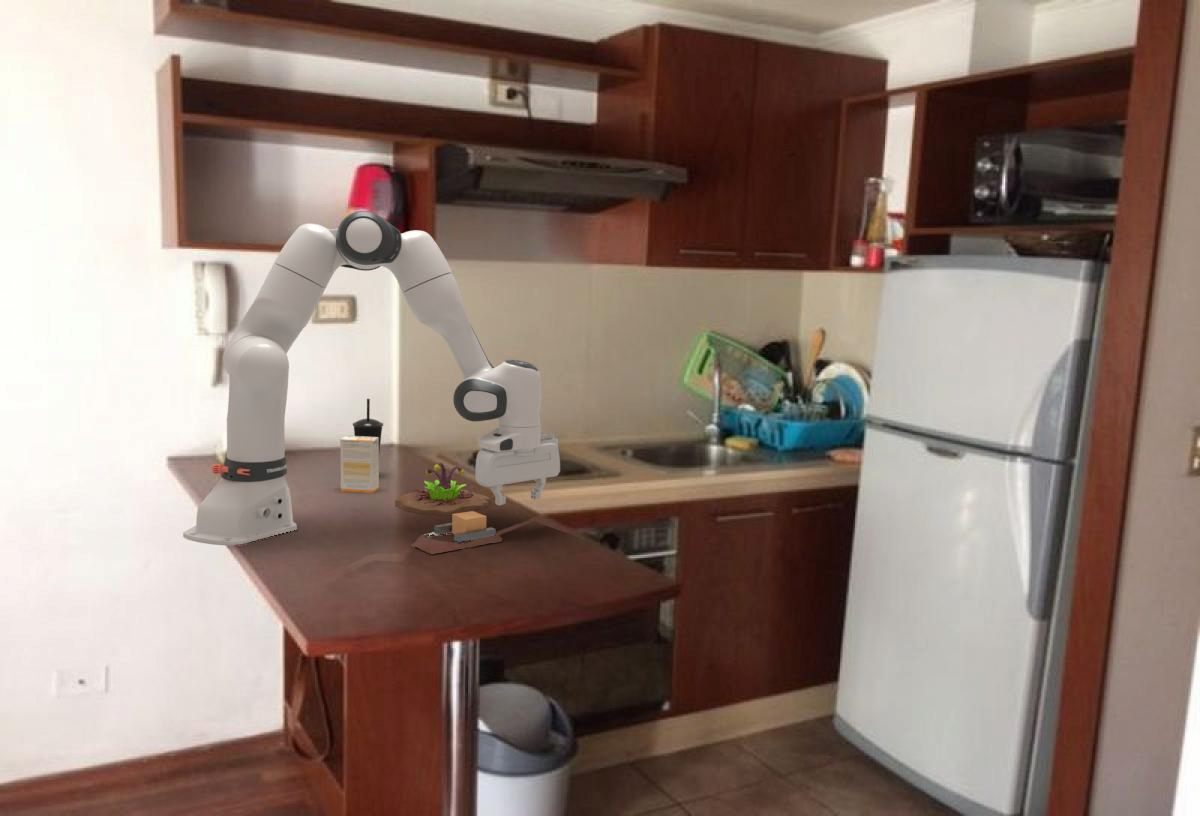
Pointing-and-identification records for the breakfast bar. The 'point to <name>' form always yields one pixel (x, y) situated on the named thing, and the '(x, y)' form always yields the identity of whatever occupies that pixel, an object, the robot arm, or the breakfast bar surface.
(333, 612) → the breakfast bar surface
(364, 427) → the drinking cup
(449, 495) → the plant
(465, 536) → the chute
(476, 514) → the orange block
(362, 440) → the supplement box
